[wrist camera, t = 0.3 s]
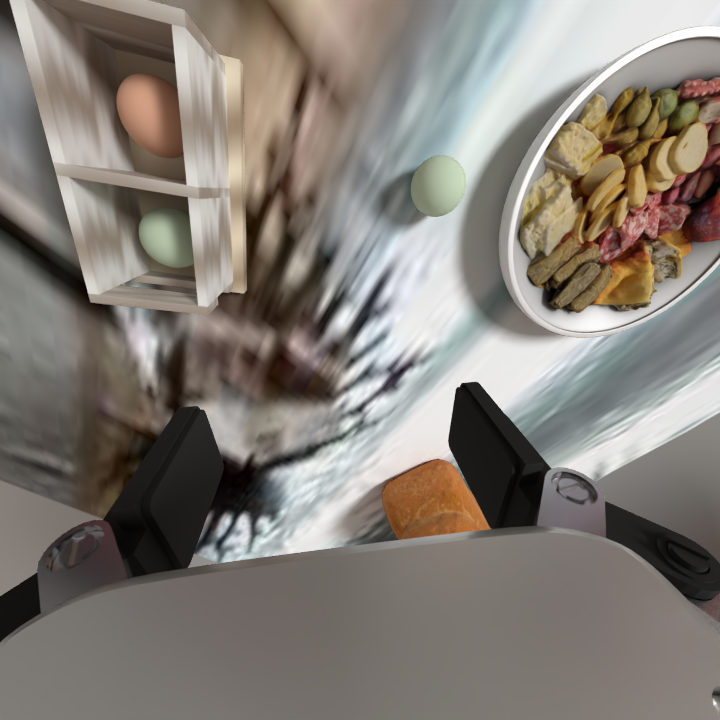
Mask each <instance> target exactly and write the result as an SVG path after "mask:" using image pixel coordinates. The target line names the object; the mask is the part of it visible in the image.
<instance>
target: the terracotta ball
mask: <svg viewBox="0 0 720 720" xmlns="http://www.w3.org/2000/svg"><path fill="white" fill-rule="evenodd" d="M116 103H117V110H118V114H119V117H120V120H121V122H122V124H123V126H124V128H125V129H126V131H127V132H128V134H129V135H130V136H131V137H132V139H133V140H134V141H135V142H136V143H137V144H138V145H140V146H141V147H142V148H144V149H145V150H147V151H148V152H150V153H152V154H154V155H157V156H159V157H163V158H177V157H180V156H183V155H184V150H183V140H182V129H181V119H180V108H179V97H178V90H177V89H176V88H175V87H174V86H173V85H172V84H171V83H169V82H168V81H166V80H165V79H163V78H161V77H159V76H156V75H153V74H148V73H137V74H133V75H130V76H129V77H127V78H126V79H125V80H124V81H123V82H122V83H121V85H120V87H119V89H118V92H117V102H116Z"/></svg>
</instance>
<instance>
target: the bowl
mask: <svg viewBox="0 0 720 720" xmlns="http://www.w3.org/2000/svg"><path fill="white" fill-rule="evenodd" d="M499 258H500V266H501V271H502V275H503V279H504V282H505V284H506V287H507V289H508V291H509V293H510V295H511V297H512V299H513V300H514V302H515V303H516V305H517V306H518V307H519V308H520V309H521V311H522V312H523V313H524V314H525V315H526V316H527V317H529V318H530V319H531V320H532V321H534V322H535V323H537V324H538V325H540V326H541V327H543V328H545V329H547V330H549V331H551V332H554V333H557V334H560V335H564V336H569V337H578V338H588V337H599V336H605V335H610V334H614V333H617V332H621V331H624V330H627V329H629V328H632V327H634V326H637V325H639V324H641V323H643V322H645V321H647V320H649V319H651V318H653V317H655V316H657V315H658V314H660V313H662V312H663V311H665V310H666V309H668V308H669V307H671V306H672V305H674V304H675V303H677V302H678V301H679V300H681V299H682V298H683V297H685V296H686V295H687V294H688V293H690V292H691V291H692V290H693V289H694V288H696V287H697V286H698V285H699V284H700V283H701V282H702V281H703V280H704V279H705V278H706V277H707V276H708V275H709V274H710V273H711V272H712V271H713V270H714V269H715V268H716V267H717V266H718V265H719V264H720V26H698V27H690V28H686V29H681V30H677V31H674V32H671V33H667V34H665V35H662V36H660V37H657V38H655V39H653V40H651V41H648V42H646V43H644V44H642V45H640V46H638V47H636V48H634V49H632V50H630V51H629V52H627V53H625V54H623V55H621V56H620V57H618V58H617V59H615V60H614V61H612V62H611V63H609V64H608V65H606V66H605V67H603V68H602V69H601V70H599V71H598V72H597V73H595V74H594V75H593V76H592V77H590V78H589V79H588V80H587V81H586V82H585V83H583V84H582V85H581V86H580V87H579V88H578V89H577V90H576V91H575V92H574V93H573V94H572V95H571V96H570V97H569V98H568V99H567V100H566V101H565V102H564V103H563V104H562V105H561V106H560V107H559V108H558V109H557V110H556V112H555V113H554V114H553V115H552V116H551V118H550V119H549V120H548V121H547V123H546V124H545V125H544V127H543V128H542V129H541V131H540V132H539V134H538V135H537V137H536V138H535V140H534V141H533V143H532V144H531V146H530V148H529V149H528V151H527V153H526V154H525V156H524V158H523V160H522V162H521V164H520V166H519V168H518V170H517V172H516V174H515V177H514V179H513V181H512V184H511V186H510V189H509V192H508V195H507V198H506V201H505V205H504V209H503V213H502V218H501V224H500V232H499Z"/></svg>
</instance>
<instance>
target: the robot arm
mask: <svg viewBox="0 0 720 720" xmlns="http://www.w3.org/2000/svg"><path fill="white" fill-rule="evenodd" d="M448 442H449V447H450V450H451V452H452V454H453V456H454V458H455V460H456V462H457V464H458V466H459V468H460V470H461V471H462V473H463V475H464V477H465V479H466V481H467V483H468V485H469V487H470V489H471V491H472V493H473V495H474V497H475V499H476V501H477V503H478V505H479V507H480V509H481V511H482V513H483V515H484V517H485V519H486V521H487V523H488V525H489V527H490V528H491V529H488V530H478V531H469V532H460V533H452V534H444V535H435V536H427V537H419V538H411V539H403V540H395V541H387V542H379V543H371V544H363V545H355V546H347V547H339V548H332V549H324V550H316V551H309V552H301V553H293V554H286V555H278V556H271V557H263V558H256V559H248V560H241V561H233V562H226V563H218V564H212V565H205V566H198V567H192V568H188V566H189V565H190V562H191V560H192V557H193V554H194V551H195V548H196V546H197V543H198V540H199V537H200V535H201V532H202V529H203V526H204V523H205V521H206V518H207V515H208V512H209V509H210V507H211V504H212V501H213V498H214V496H215V493H216V490H217V487H218V484H219V482H220V479H221V476H222V473H223V461H222V458H221V455H220V452H219V449H218V447H217V444H216V441H215V438H214V435H213V432H212V430H211V427H210V424H209V421H208V418H207V415H206V413H205V411H204V410H200V408H199V407H197V406H193V407H181V408H179V409H178V410H177V411H176V413H175V414H174V415H173V417H172V418H171V420H170V421H169V423H168V424H167V426H166V427H165V429H164V430H163V432H162V433H161V435H160V436H159V438H158V439H157V441H156V442H155V444H154V445H153V447H152V448H151V450H150V451H149V453H148V454H147V455H146V457H145V458H144V460H143V461H142V463H141V464H140V466H139V467H138V469H137V470H136V472H135V473H134V475H133V476H132V478H131V479H130V481H129V482H128V484H127V485H126V487H125V488H124V490H123V491H122V493H121V494H120V495H119V497H118V498H117V500H116V501H115V503H114V504H113V506H112V507H111V509H110V510H109V512H108V513H107V515H106V516H105V518H104V519H103V520H92V521H88V522H85V523H82V524H80V525H78V526H76V527H73V528H72V529H70V530H69V531H67V532H66V533H64V534H62V535H61V536H60V537H59V538H58V539H56V540H55V541H54V542H53V543H52V544H51V545H50V546H49V547H48V548H47V549H46V551H45V552H44V553H43V555H42V557H41V559H40V560H39V562H38V569H37V573H36V574H34V575H33V576H31V577H30V578H28V579H27V580H25V581H23V582H22V583H20V584H19V585H17V586H16V587H14V588H13V589H11V590H10V591H8V592H6V593H5V594H3V595H2V596H0V720H720V564H719V562H718V561H717V560H716V559H715V558H714V557H713V556H712V555H711V554H710V553H709V552H708V551H707V550H706V549H704V548H703V547H701V546H700V545H698V544H697V543H696V542H694V541H692V540H690V539H688V538H686V537H685V536H683V535H680V534H678V533H676V532H674V531H671V530H669V529H667V528H665V527H662V526H660V525H658V524H656V523H653V522H651V521H649V520H646V519H644V518H642V517H640V516H637V515H635V514H633V513H631V512H628V511H626V510H624V509H622V508H619V507H617V506H615V505H613V504H610V503H608V502H606V501H605V499H604V494H603V492H602V491H601V489H600V488H599V486H598V485H597V484H596V483H595V482H594V481H593V480H591V479H590V478H588V477H587V476H585V475H584V474H582V473H580V472H577V471H575V470H572V469H568V468H560V467H558V468H553V469H551V468H550V467H549V465H548V464H547V463H546V462H545V461H544V459H543V458H542V457H541V456H540V455H539V453H538V452H537V451H536V450H535V449H534V447H533V446H532V445H531V444H530V443H529V441H528V440H527V439H526V438H525V437H524V435H523V434H522V433H521V432H520V431H519V429H518V428H517V427H516V426H515V425H514V423H513V422H512V421H511V420H510V419H509V418H508V417H507V416H506V415H505V414H504V413H503V412H502V410H501V409H500V408H499V407H498V406H497V404H496V403H495V402H494V401H493V399H492V398H491V397H490V396H489V395H488V393H487V392H486V391H485V390H484V389H483V387H482V386H481V385H480V384H479V383H478V382H469V383H462V384H461V385H460V387H458V388H457V389H456V393H455V400H454V406H453V413H452V419H451V426H450V432H449V440H448Z"/></svg>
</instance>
